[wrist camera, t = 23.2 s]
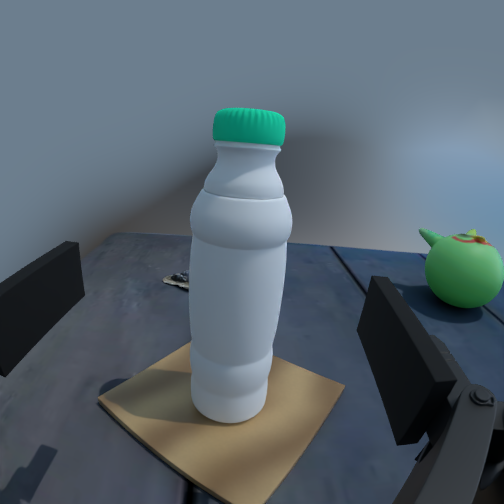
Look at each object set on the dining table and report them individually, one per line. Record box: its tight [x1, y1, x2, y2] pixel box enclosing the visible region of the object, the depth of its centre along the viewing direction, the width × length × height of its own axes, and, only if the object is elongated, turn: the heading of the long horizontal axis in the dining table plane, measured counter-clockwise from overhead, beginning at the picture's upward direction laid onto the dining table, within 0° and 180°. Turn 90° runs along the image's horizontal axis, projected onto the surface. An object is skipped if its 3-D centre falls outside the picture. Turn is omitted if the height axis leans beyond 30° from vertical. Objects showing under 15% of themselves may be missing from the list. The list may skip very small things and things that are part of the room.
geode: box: [163, 271, 189, 289], centre depth 52 cm, size 7×8×2 cm
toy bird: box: [419, 228, 504, 308], centre depth 51 cm, size 18×17×15 cm
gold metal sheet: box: [98, 342, 345, 504], centre depth 28 cm, size 18×18×1 cm
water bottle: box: [189, 108, 292, 423], centre depth 24 cm, size 7×7×25 cm
